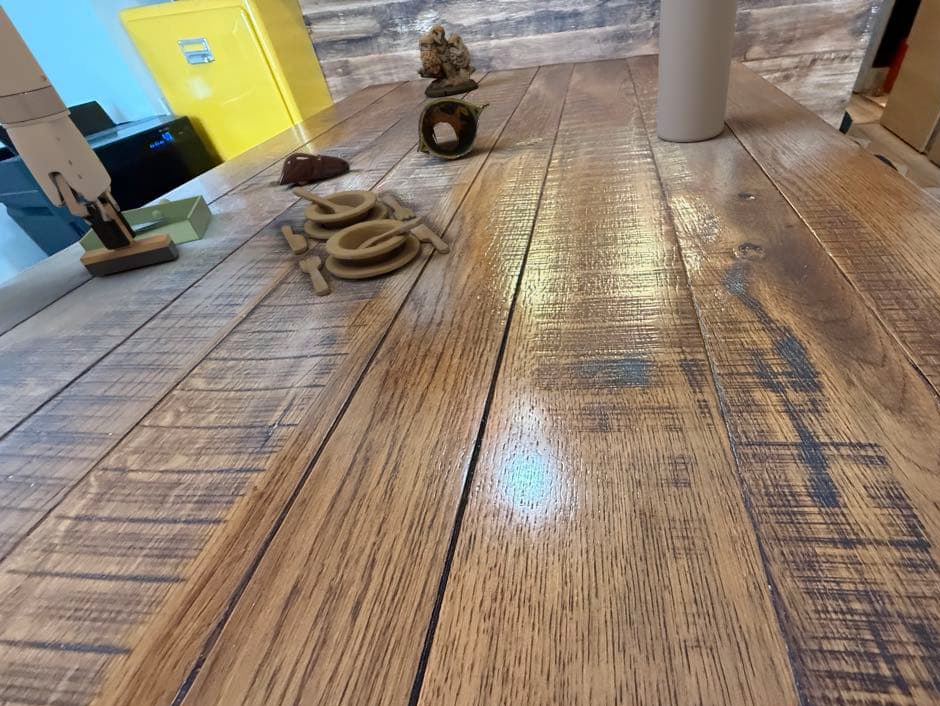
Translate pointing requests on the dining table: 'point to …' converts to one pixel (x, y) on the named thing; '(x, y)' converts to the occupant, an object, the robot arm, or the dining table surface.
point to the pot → (455, 114)
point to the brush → (128, 252)
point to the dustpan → (164, 221)
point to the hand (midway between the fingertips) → (122, 242)
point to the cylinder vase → (694, 67)
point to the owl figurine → (445, 64)
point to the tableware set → (358, 235)
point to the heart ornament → (310, 168)
